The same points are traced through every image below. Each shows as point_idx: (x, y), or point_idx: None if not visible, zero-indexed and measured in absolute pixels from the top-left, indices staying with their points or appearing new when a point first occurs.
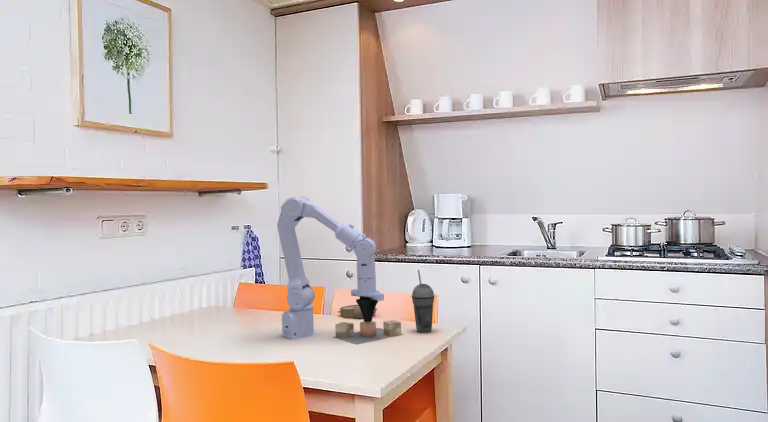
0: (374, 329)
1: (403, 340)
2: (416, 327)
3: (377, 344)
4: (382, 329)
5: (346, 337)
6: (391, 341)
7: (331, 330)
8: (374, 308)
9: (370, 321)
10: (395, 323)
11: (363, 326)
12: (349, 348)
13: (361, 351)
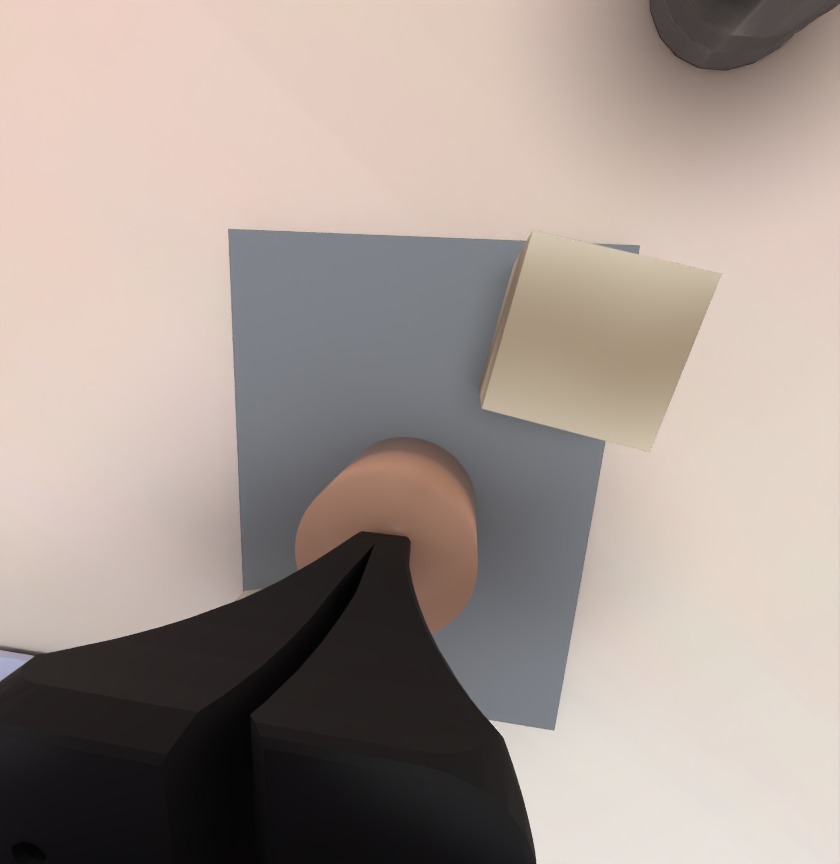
0: (474, 518)
1: (741, 377)
2: (722, 14)
3: (635, 600)
4: (315, 254)
5: None
6: (667, 470)
7: (26, 509)
8: (431, 639)
9: (409, 557)
10: (682, 365)
11: None
12: (547, 768)
13: (676, 781)
